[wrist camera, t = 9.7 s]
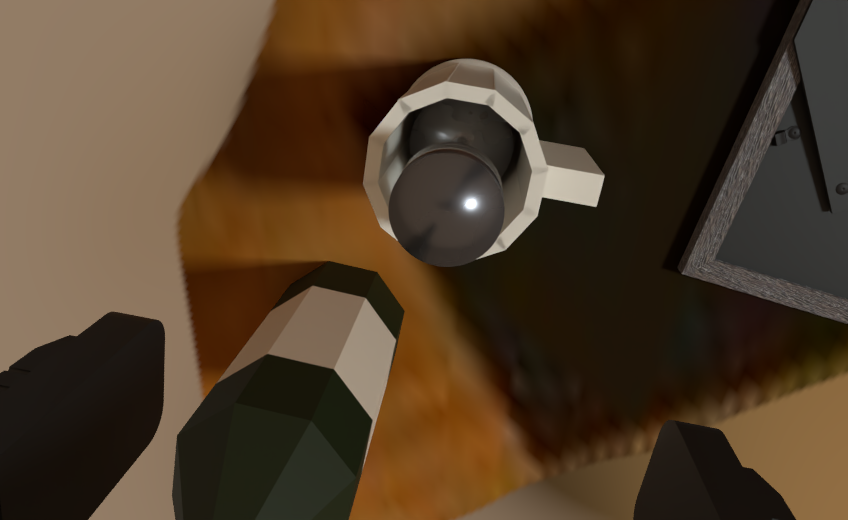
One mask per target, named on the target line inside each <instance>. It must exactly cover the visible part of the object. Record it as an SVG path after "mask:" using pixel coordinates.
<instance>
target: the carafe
mask: <svg viewBox="0 0 848 520" xmlns="http://www.w3.org/2000/svg"><path fill="white" fill-rule="evenodd" d="M446 98H450V99H456V100H461V101H467V102H473V103H478V104H484V105H489V106H490V107H491V108H492V109H493V110H494V111H495V112H497V113H498V114H499V115H500V116H501V117H502V118H504V119H505V120H506V121H507V122H508V123H509V124H510V127H511V131H512V136H513V152H512V157H511V161H510V163H509V166H508V168H507V170H506V171H505V173H504V174H503V176H502V177H501V181H502V187H503V197H504V222H503V226H502V229H501V232H500V234H499V236H498V238H497V240H496V241H495V243H494V244H493V245H492V247H491V248H490V249H489V250H488V251H487V252H486V253H485V254H483V255H482V256H480V257H479V258H482V257H485V256H488V255H491V254H494V253H497V252H501V251H504V250H506V249H507V248H508V247H509V246H510V244H511V243H512V242H513V241H514V240H515V239H516V238H517V237H518V236H519V235H520V234H521V233H522V232H523V231H524V230H525V229H526V228H527V226H528V225H529V224H530V223H531V222H532V221H533V220H534V219H535V218H536V217H537V216H538V211H539V207H540V202H541V198H542V197H545V198H551V199H556V200H562V201H567V202H573V203H578V204H584V205H589V206H594V207H596V206H597V203H598V199H599V195H600V191H601V188H602V184H603V180H604V176H605V175H604V174H603V173H602V171H601V170H600V169H599V167H598V166H597V165H596V163H595V162H594V161H593V159H592V158H591V157H590V155H589V154H588V153H587V151H586V150H585V149H584V148H579V147H573V146H568V145H562V144H557V143H551V142H546V141H540V140H539V139H538V136H537V133H536V130H535V127H534V123H533V119H532V113H531V109H530V105H529V103H528V100H527V98H526V96H525V94H524V92H523V90H522V88H521V87H520V86H519V84H518V83H517V82H516V81H515V80H514V79H513V78H512V77H511V76H510V75H509V74H508V73H507V72H505V71H504V70H503V69H501V68H499V67H498V66H496V65H494V64H491V63H489V62H486V61H482V60H478V59H470V58H464V59H455V60H450V61H446V62H443V63H441V64H439V65H437V66H434V67H433V68H431V69H430V70H428V71H427V72H425V73H424V74H423V75H422V76H421V77H419V78H418V79H417V80H416V82H415V83H414V84H413V85H412V86H411V88H410V89H409V91H408V92H406V93H405V94H404V95H403V96H402V97H401V98H399V99H398V101H397V102H396V104H395V105H394V106H393V108H392V109H391V110H390V111H389V113H388V114H387V115H386V116H385V118H384V119H383V120H382V122H381V123H380V124H379V125H378V127H377V128H376V129H375V130H374V132H373V133H372V134H371V135H370V136H369V142H368V149H367V157H366V164H365V172H364V179H363V186H364V188H365V190H366V193H367V195H368V198H369V200H370V203H371V205H372V207H373V210H374V212H375V215H376V217H377V220H378V222H379V225H380V227H381V228H383V229H384V230H385V231H386V232H387V233H389V234H390V235H391V236H392V237H394V238H395V239H396V240H397V238H396V237H395V235H394V233H393V231H392V228H391V225H390V220H389V212H388V207H389V199H390V195H391V192H392V189H393V187H394V185H395V183H396V181H397V179H398V178H399V176H400V174H401V173H402V171H403V169H404V167H405V166H406V164H407V163H408V162H409V160H410V159H411V154H410V144H409V143H410V135H411V130H412V127H413V125H414V122H415V121H416V119H417V117H418V116H419V114H420V113H421V111H422V110H423V109H424V108H425V107H426V106H427V105H430V104H432V103H435V102H438V101H440V100H443V99H446ZM397 241H398V240H397ZM479 258H477V259H479Z"/></svg>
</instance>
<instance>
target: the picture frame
mask: <svg viewBox="0 0 848 520" xmlns="http://www.w3.org/2000/svg"><path fill="white" fill-rule="evenodd" d="M677 268H678V270H679V271H680V272H681V274H684V275H687V276H690V277H694V278H697V279H700V280H704V281H707V282H710V283H714V284H717V285H720V286H723V287H727V288H730V289H733V290H737V291H740V292H743V293H747V294H750V295H753V296H757V297H760V298H763V299H767V300H770V301H773V302H777V303H780V304H783V305H787V306H790V307H793V308H797V309H800V310H803V311H807V312H810V313H813V314H817V315H820V316H823V317H827V318H830V319H833V320H837V321H840V322H843V323H846V324H848V0H800V1H799V3H798V6H797V8H796V10H795V12H794V14H793V17H792V19H791V21H790V23H789V25H788V27H787V30H786V32H785V34H784V36H783V38H782V40H781V43H780V45H779V47H778V49H777V51H776V54H775V56H774V58H773V60H772V62H771V64H770V67H769V69H768V71H767V73H766V75H765V77H764V80H763V82H762V84H761V86H760V88H759V91H758V93H757V95H756V97H755V99H754V101H753V104H752V106H751V108H750V110H749V112H748V114H747V117H746V119H745V121H744V123H743V125H742V128H741V130H740V132H739V134H738V136H737V138H736V141H735V143H734V145H733V147H732V149H731V151H730V154H729V156H728V158H727V160H726V162H725V165H724V167H723V169H722V171H721V173H720V175H719V178H718V180H717V182H716V184H715V186H714V188H713V191H712V193H711V195H710V197H709V199H708V202H707V204H706V206H705V208H704V210H703V212H702V215H701V217H700V219H699V221H698V223H697V225H696V228H695V230H694V232H693V234H692V236H691V239H690V241H689V243H688V245H687V247H686V249H685V252H684V254H683V256H682V258H681V260H680V262H679V265H678V267H677Z"/></svg>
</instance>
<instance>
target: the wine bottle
mask: <svg viewBox="0 0 848 520" xmlns="http://www.w3.org/2000/svg"><path fill="white" fill-rule="evenodd" d="M403 316H404V310H403V308H402V307H401V305H400V304H399V303H398V301H397V300H396V298H395V297H394V295H393V294H392V293H391V291H390V290H389V288H388V287H387V286H386V284H385V283H384V281H383V280H382V278H381V277H380V276H379V274H378V273H377V272H374V271H370V270H365V269H361V268H356V267H352V266H348V265H343V264H339V263H335V262H330V261H328V262H327V263H325V264H324V265H322V266H320V267H319V268H317V269H315V270H314V271H312V272H310V273H309V274H307V275H306V276H304V277H302V278H301V279H299V280H297V281H296V282H294V283H293V284H291V285H290V286H289V287H288V289H287V290H286V291H285V293H284V294H283V295H282V297H281V298H280V299H279V301H278V302H277V303H276V305H275V306H274V307H273V309H272V310H271V311H270V313H269V314H268V315H267V317H266V318H265V319H264V321H263V322H262V323H261V325H260V326H259V327H258V329H257V330H256V331H255V333H254V334H253V335H252V337H251V338H250V339H249V341H248V342H247V343H246V345H245V346H244V347H243V349H242V350H241V351H240V353H239V354H238V355H237V357H236V358H235V359H234V361H233V362H232V363H231V365H230V366H229V367H228V369H227V370H226V371H225V373H224V374H223V375H222V377H221V378H220V379H219V381H218V382H217V383H216V384H215V386H214V387H213V388H212V390H211V391H210V392H209V394H208V395H207V396H206V398H205V399H204V400H203V402H202V403H201V404H200V406H199V407H198V408H197V410H196V411H195V413H194V414H193V415H192V417H191V418H190V419H189V421H188V422H187V423H186V424H185V426H184V427H183V428H182V430H181V431H180V432H179V434H178V435H177V443H176V455H175V467H174V479H173V490H172V498H173V505H174V512H175V519H176V520H349V516H350V513H351V509H352V506H353V502H354V498H355V495H356V491H357V488H358V484H359V481H360V477H361V474H362V470H363V466H364V463H365V459H366V456H367V452H368V449H369V445H370V441H371V438H372V434H373V431H374V427H375V424H376V420H377V417H378V413H379V409H380V406H381V402H382V399H383V395H384V392H385V388H386V385H387V381H388V377H389V374H390V370H391V367H392V363H393V360H394V356H395V352H396V348H397V343H398V339H399V334H400V329H401V325H402V320H403Z"/></svg>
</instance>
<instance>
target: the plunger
mask: <svg viewBox="0 0 848 520" xmlns="http://www.w3.org/2000/svg"><path fill="white" fill-rule="evenodd" d="M409 144H410V154H411V159H410V160H409V162H408V163H407V164H406V166H405V167H404V169H403V171H402V173H401V174H400V176H399V178H398V179H397V181H396V183H395V185H394V187H393V189H392V192H391V195H390V199H389V207H388V212H389V220H390V225H391V228H392V231H393V233H394V235H395V237H396V238H397V240H398V242H399V243H400V244H401V245H402V247H403V248H404V249H405V250H406V251H407V252H409V253H410V254H411V255H412V256H414V257H415V258H417V259H419V260H421V261H423V262H425V263H428V264H431V265H435V266H442V267H452V266H459V265H463V264H467V263H469V262H472V261H474V260H476V259H477V258H479V257H480V256H482V255H483V254H485V253H486V252H487V251H488V250H489V249H490V248H491V247H492V245H493V244H494V243H495V241H496V240H497V238H498V236H499V234H500V232H501V229H502V226H503V222H504V197H503V187H502V181H501V177H502V176H503V174H504V173H505V171H506V170H507V168H508V166H509V163H510V161H511V157H512V152H513V136H512V131H511V127H510V124H509V123H508V122H507V121H506V120H505V119H504V118H502V117H501V116H500V115H499V114H498V113H497V112H495V111H494V110H493V109H492V108H491V107H490V106H489V105H484V104H478V103H473V102H467V101H461V100H456V99H450V98H446V99H443V100H440V101H438V102H435V103H432V104H430V105H427V106H426V107H425V108H424V109H423V110H422V111H421V113H420V114H419V116H418V117H417V119H416V121H415V122H414V125H413V127H412V130H411V135H410V143H409Z"/></svg>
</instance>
